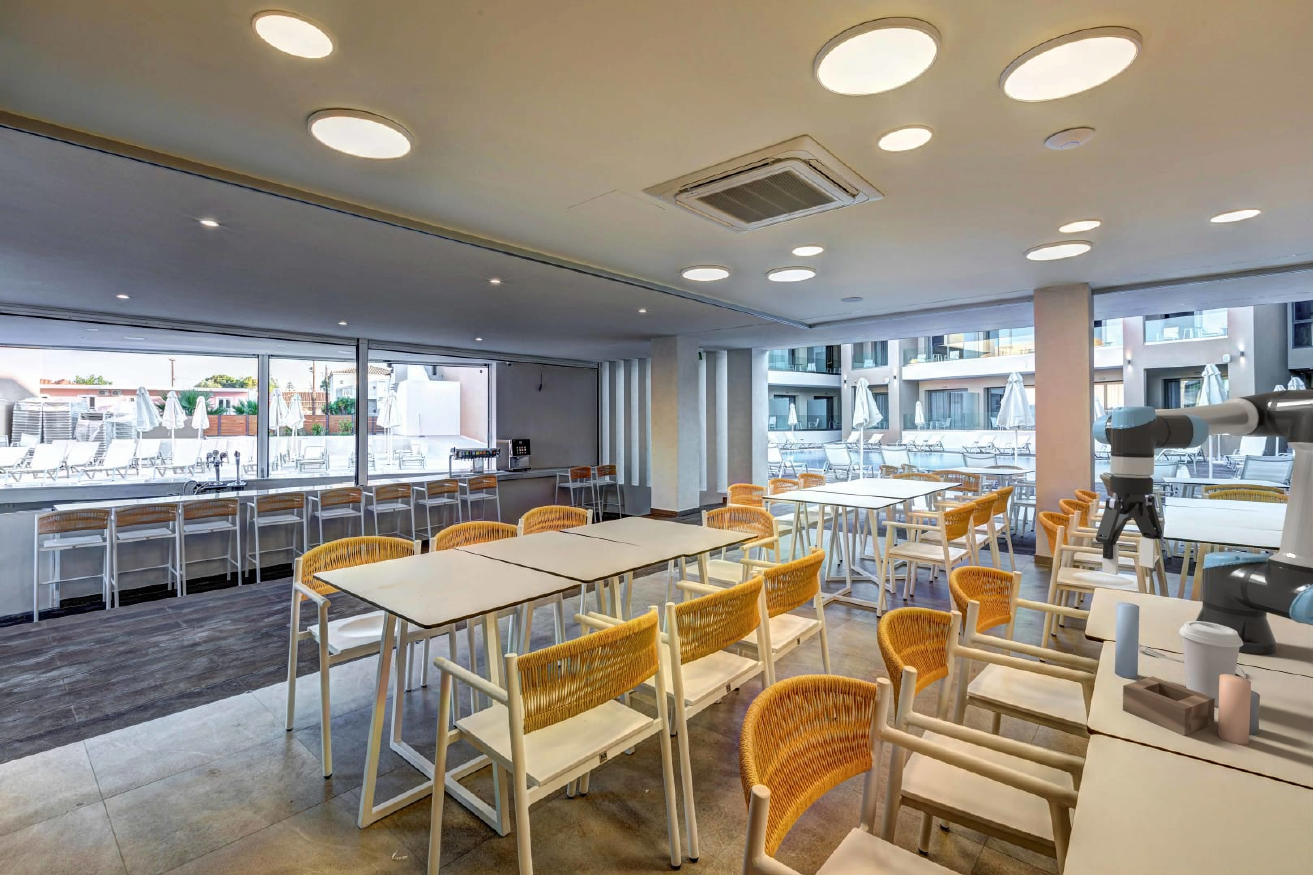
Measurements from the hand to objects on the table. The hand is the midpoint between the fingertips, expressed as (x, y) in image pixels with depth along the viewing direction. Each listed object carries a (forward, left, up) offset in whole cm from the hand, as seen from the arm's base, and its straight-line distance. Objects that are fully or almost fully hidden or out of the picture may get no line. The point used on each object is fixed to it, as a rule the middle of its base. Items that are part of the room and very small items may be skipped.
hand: (1128, 570), depth 129 cm
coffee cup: (-3, +13, -24) cm, 28 cm away
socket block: (+13, +14, -24) cm, 31 cm away
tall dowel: (0, 0, -24) cm, 24 cm away
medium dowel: (+11, +23, -24) cm, 35 cm away
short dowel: (+5, +22, -24) cm, 33 cm away
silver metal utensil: (-20, +2, -25) cm, 32 cm away
